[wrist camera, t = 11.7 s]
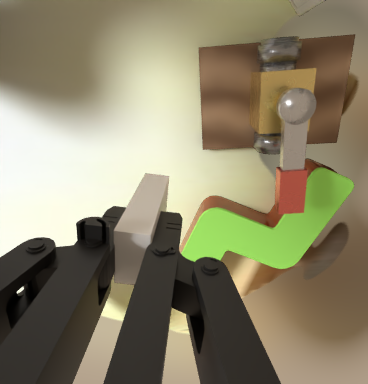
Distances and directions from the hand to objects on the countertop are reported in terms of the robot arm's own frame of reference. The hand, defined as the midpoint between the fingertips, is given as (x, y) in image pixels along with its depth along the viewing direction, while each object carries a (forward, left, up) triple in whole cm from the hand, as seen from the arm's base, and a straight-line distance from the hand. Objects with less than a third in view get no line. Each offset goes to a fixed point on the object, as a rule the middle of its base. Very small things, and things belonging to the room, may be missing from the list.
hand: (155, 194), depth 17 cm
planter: (+18, +10, -27) cm, 34 cm away
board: (-3, +13, -26) cm, 30 cm away
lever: (+2, +13, -15) cm, 20 cm away
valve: (-3, +13, -25) cm, 29 cm away
